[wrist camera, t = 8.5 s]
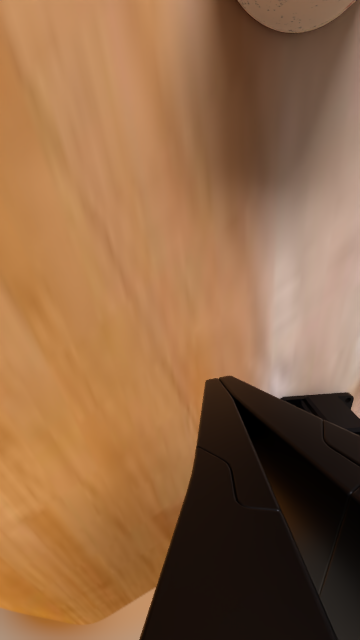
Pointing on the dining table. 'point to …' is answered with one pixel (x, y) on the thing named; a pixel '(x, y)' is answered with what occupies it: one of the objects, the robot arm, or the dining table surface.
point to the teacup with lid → (295, 13)
